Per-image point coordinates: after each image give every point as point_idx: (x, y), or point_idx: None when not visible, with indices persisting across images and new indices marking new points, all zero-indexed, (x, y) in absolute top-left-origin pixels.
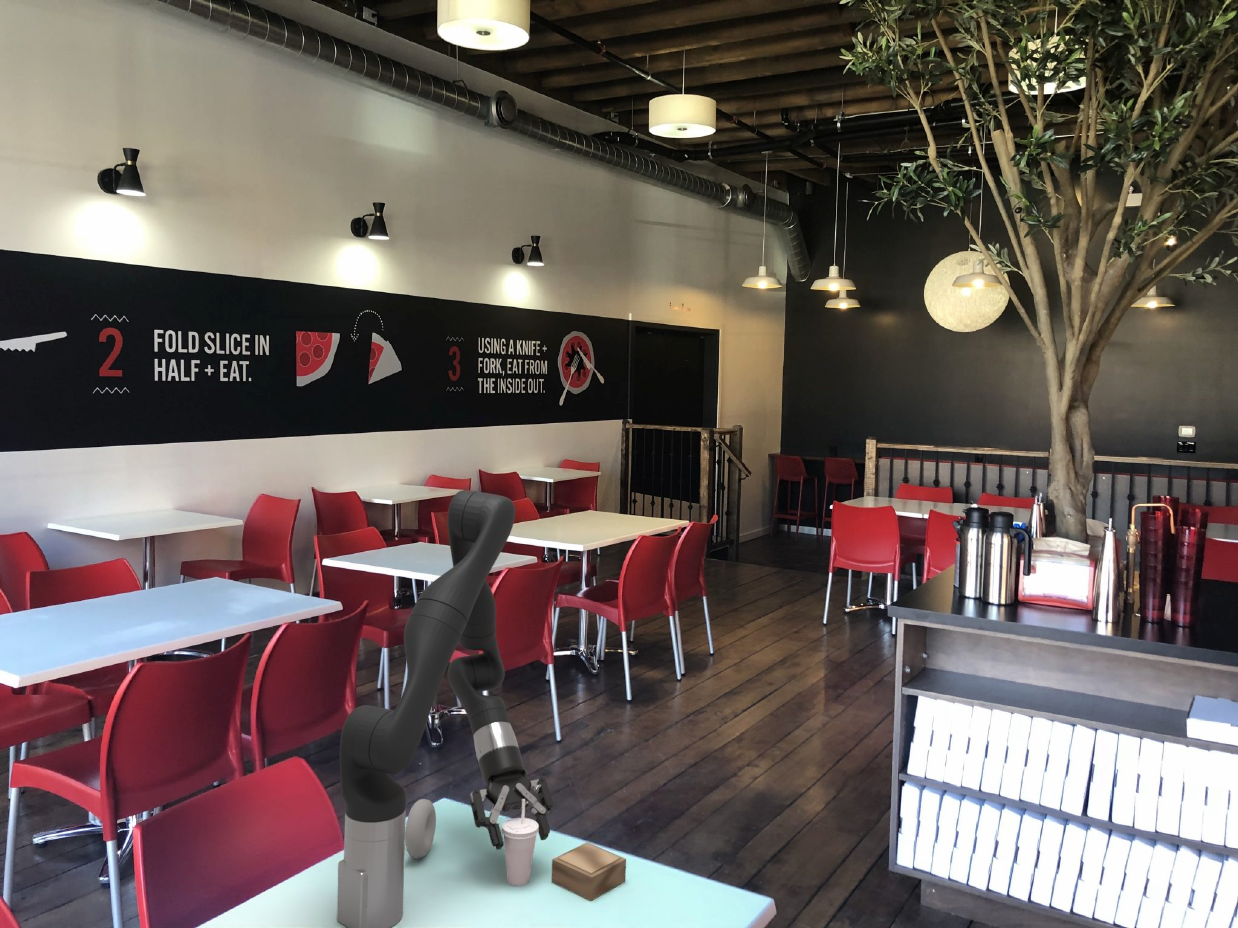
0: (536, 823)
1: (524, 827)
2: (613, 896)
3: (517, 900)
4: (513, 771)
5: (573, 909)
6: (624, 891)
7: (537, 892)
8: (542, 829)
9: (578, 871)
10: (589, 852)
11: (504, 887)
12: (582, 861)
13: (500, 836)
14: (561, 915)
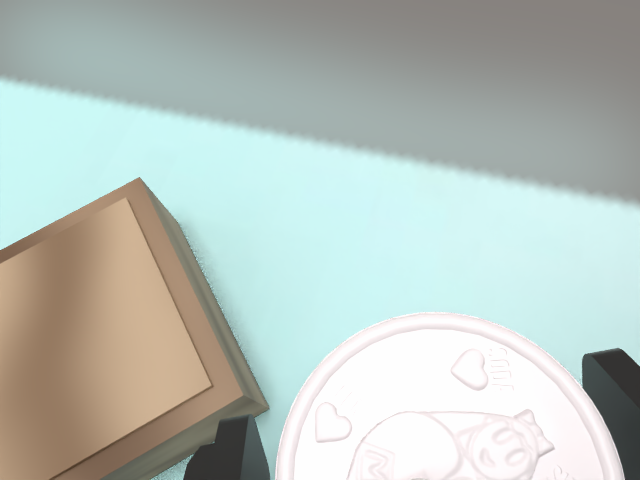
0: (289, 473)
1: (417, 411)
2: None
3: (453, 294)
4: None
5: (259, 185)
6: None
7: None
8: (249, 459)
9: (169, 241)
10: (29, 399)
11: None
12: (111, 310)
13: (631, 384)
14: (313, 159)
